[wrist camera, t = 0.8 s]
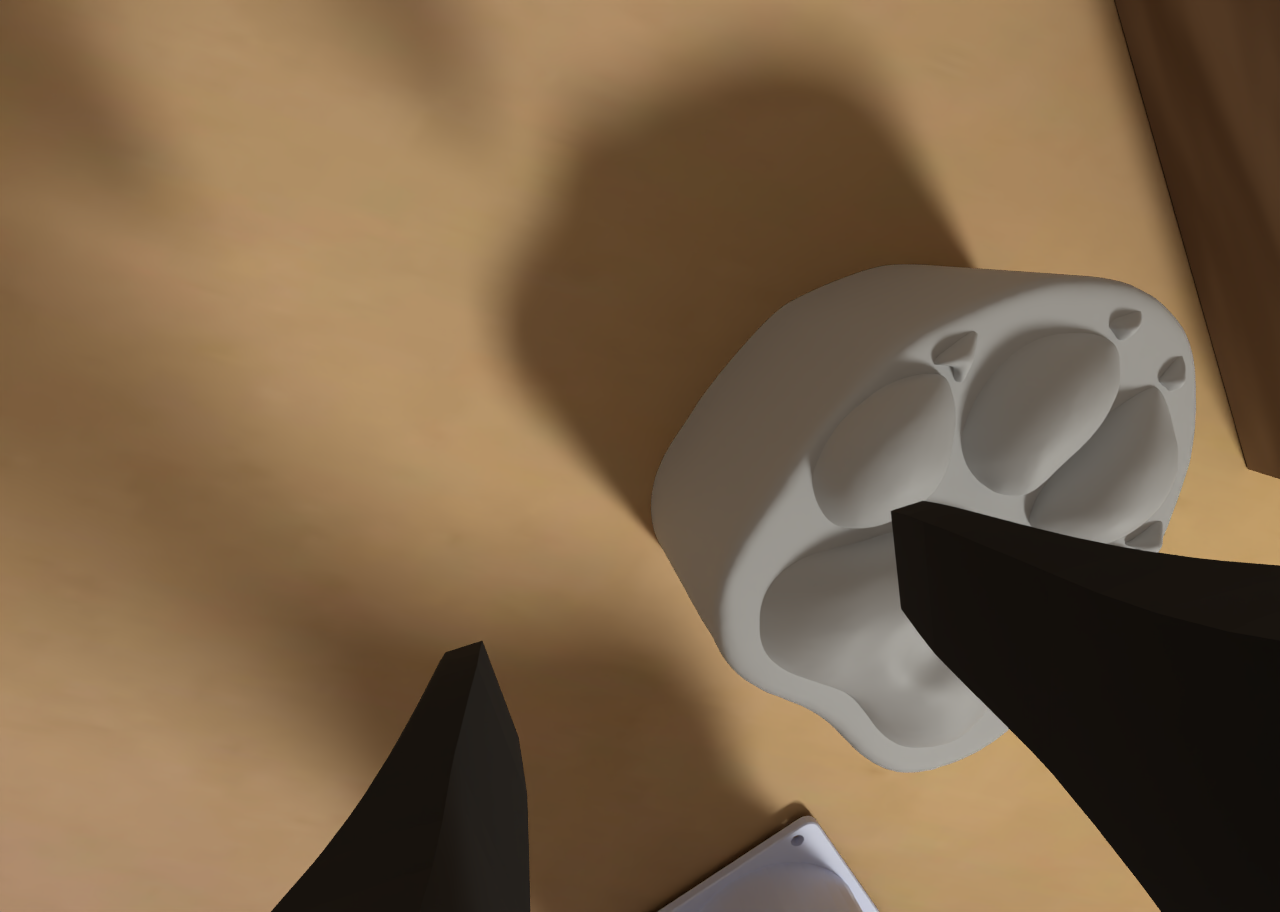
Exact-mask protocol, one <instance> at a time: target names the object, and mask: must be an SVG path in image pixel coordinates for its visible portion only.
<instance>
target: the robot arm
mask: <svg viewBox="0 0 1280 912" xmlns="http://www.w3.org/2000/svg"><path fill="white" fill-rule="evenodd" d="M891 519H892V529H893V538H894V548H895V557H896V567H897V576H898V586H899V595H900V605H901V610H902V611H903V612H904V614H905V615H906V617H907V618H908V619H909V621H910V622H911V623H912V625H913V626H914V628H915V629H916V630H917V632H918V633H919V634H920V636H921V637H922V638H923V639H924V641H925V642H926V643H927V645H928V646H929V647H930V648H931V650H932V651H933V652H934V654H935V655H936V656H937V657H938V658H939V659H940V660H941V661H942V662H943V663H944V664H945V665H946V666H947V667H948V668H949V669H950V670H951V671H952V672H953V673H954V674H955V675H956V676H957V677H958V678H959V679H960V680H961V681H962V682H963V683H964V684H965V685H966V686H967V687H968V688H969V689H970V690H971V691H972V692H973V693H974V694H975V695H976V696H977V697H978V698H979V699H980V700H981V701H982V702H983V703H984V704H985V705H986V706H987V707H988V708H989V709H990V710H991V711H992V712H993V713H994V714H995V715H996V716H997V717H998V718H999V719H1000V720H1001V721H1002V722H1003V723H1004V724H1005V725H1006V726H1007V727H1008V728H1009V729H1010V730H1011V731H1012V732H1013V733H1014V734H1015V735H1016V736H1017V737H1018V738H1019V739H1020V740H1021V741H1022V742H1023V743H1024V744H1025V745H1026V746H1027V747H1028V748H1029V749H1030V750H1031V751H1032V752H1033V753H1034V754H1035V755H1036V756H1037V758H1038V759H1039V760H1040V761H1041V762H1042V763H1043V764H1044V765H1045V766H1046V767H1047V768H1048V769H1049V771H1050V772H1051V773H1052V774H1053V775H1054V776H1055V777H1056V779H1057V780H1058V781H1059V782H1060V784H1061V785H1062V786H1063V787H1064V788H1065V790H1066V791H1067V792H1068V793H1069V794H1070V796H1071V797H1072V798H1073V799H1074V801H1075V802H1076V803H1077V804H1078V805H1079V807H1080V808H1081V809H1082V810H1083V811H1084V813H1085V814H1086V815H1087V816H1088V818H1089V819H1090V820H1091V821H1092V822H1093V824H1094V825H1095V826H1096V827H1097V829H1098V830H1099V831H1100V832H1101V834H1102V835H1103V836H1104V838H1105V839H1106V840H1107V841H1108V843H1109V844H1110V845H1111V847H1112V848H1113V849H1114V850H1115V852H1116V853H1117V854H1118V855H1119V857H1120V858H1121V859H1122V861H1123V862H1124V863H1125V864H1126V866H1127V867H1128V868H1129V870H1130V871H1131V872H1132V873H1133V875H1134V876H1135V877H1136V879H1137V880H1138V881H1139V882H1140V884H1141V885H1142V886H1143V888H1144V889H1145V890H1146V892H1147V893H1148V894H1149V896H1150V897H1151V898H1152V900H1153V901H1154V903H1155V904H1156V905H1157V907H1158V908H1159V909H1160V911H1161V912H1280V566H1278V565H1266V564H1253V563H1241V562H1229V561H1218V560H1209V559H1200V558H1192V557H1185V556H1178V555H1171V554H1164V553H1157V552H1150V551H1143V550H1137V549H1132V548H1126V547H1120V546H1115V545H1110V544H1105V543H1100V542H1096V541H1091V540H1086V539H1081V538H1076V537H1072V536H1068V535H1063V534H1059V533H1055V532H1050V531H1046V530H1042V529H1038V528H1034V527H1030V526H1026V525H1022V524H1018V523H1015V522H1011V521H1007V520H1003V519H999V518H995V517H992V516H988V515H984V514H980V513H976V512H973V511H969V510H965V509H961V508H957V507H953V506H948V505H944V504H939V503H934V502H928V501H920V502H917V503H914V504H911V505H907V506H904V507H901V508H898V509H895V510H892V511H891ZM797 835H798V836H797ZM794 836H797V837H795V838H793V837H794ZM271 912H530V881H529V840H528V807H527V791H526V784H525V777H524V770H523V763H522V757H521V750H520V744H519V738H518V735H517V732H516V729H515V727H514V724H513V721H512V719H511V716H510V713H509V711H508V708H507V705H506V703H505V700H504V697H503V695H502V692H501V689H500V687H499V684H498V681H497V679H496V676H495V673H494V671H493V668H492V665H491V663H490V660H489V657H488V655H487V652H486V649H485V647H484V644H483V641H480V642H477V643H474V644H471V645H467V646H464V647H461V648H458V649H455V650H452V651H449V652H445V654H444V656H443V657H442V659H441V661H440V663H439V664H438V666H437V668H436V670H435V672H434V674H433V676H432V678H431V680H430V682H429V684H428V686H427V688H426V689H425V691H424V693H423V695H422V697H421V699H420V701H419V703H418V705H417V707H416V709H415V710H414V712H413V714H412V716H411V718H410V720H409V721H408V723H407V725H406V727H405V729H404V730H403V732H402V734H401V736H400V737H399V739H398V741H397V743H396V745H395V746H394V748H393V750H392V752H391V753H390V755H389V757H388V758H387V760H386V761H385V763H384V765H383V766H382V768H381V769H380V771H379V773H378V774H377V776H376V777H375V779H374V780H373V782H372V784H371V785H370V787H369V788H368V790H367V792H366V793H365V795H364V796H363V798H362V799H361V801H360V802H359V803H358V805H357V806H356V808H355V809H354V810H353V812H352V813H351V815H350V816H349V817H348V819H347V820H346V822H345V823H344V824H343V826H342V827H341V828H340V829H339V831H338V832H337V833H336V835H335V836H334V837H333V839H332V840H331V841H330V843H329V844H328V845H327V847H326V848H325V849H324V850H323V852H322V853H321V854H320V855H319V857H318V858H317V859H316V860H315V862H314V863H313V864H312V865H311V866H310V867H309V869H308V870H307V871H306V872H305V873H304V874H303V876H302V877H301V878H300V879H299V880H298V881H297V882H296V884H295V885H294V886H293V887H292V888H291V889H290V890H289V892H288V893H287V894H286V895H285V896H284V897H283V898H282V900H281V901H280V902H279V903H278V904H277V905H276V907H275V908H274V909H273V910H272V911H271ZM657 912H879V910H878V909H877V907H876V906H875V904H874V903H873V902H872V900H871V899H870V897H869V896H868V894H867V893H866V891H865V890H864V889H863V887H862V886H861V884H860V883H859V881H858V880H857V878H856V877H855V876H854V874H853V873H852V871H851V870H850V868H849V867H848V865H847V864H846V863H845V861H844V860H843V858H842V857H841V855H840V854H839V852H838V851H837V850H836V848H835V847H834V845H833V844H832V842H831V841H830V839H829V838H828V837H827V835H826V834H825V832H824V831H823V829H822V828H821V826H820V825H819V824H818V822H817V821H816V819H815V818H813V817H811V816H803V817H801V818H799V819H797V820H796V821H794V822H793V823H791V824H790V825H788V826H787V827H785V828H784V829H782V830H781V831H779V832H778V833H776V834H775V835H773V836H771V837H770V838H768V839H767V840H765V841H764V842H762V843H761V844H759V845H758V846H756V847H755V848H753V849H752V850H750V851H749V852H747V853H746V854H744V855H743V856H741V857H740V858H738V859H736V860H735V861H733V862H732V863H730V864H729V865H727V866H726V867H724V868H723V869H721V870H720V871H718V872H717V873H715V874H714V875H712V876H711V877H709V878H708V879H706V880H705V881H703V882H702V883H700V884H698V885H697V886H695V887H694V888H692V889H691V890H689V891H688V892H686V893H685V894H683V895H682V896H680V897H679V898H677V899H676V900H674V901H673V902H671V903H670V904H668V905H667V906H665V907H663V908H662V909H660V910H659V911H657Z"/></svg>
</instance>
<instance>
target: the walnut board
mask: <svg viewBox="0 0 1280 912" xmlns="http://www.w3.org/2000/svg"><path fill="white" fill-rule="evenodd" d="M1115 2H1116V6H1117V9H1118V13H1119V16H1120V20H1121V23H1122V27H1123V30H1124V34H1125V37H1126V41H1127V44H1128V48H1129V51H1130V55H1131V59H1132V62H1133V66H1134V69H1135V73H1136V76H1137V80H1138V83H1139V87H1140V90H1141V94H1142V97H1143V101H1144V104H1145V108H1146V111H1147V115H1148V118H1149V122H1150V125H1151V129H1152V133H1153V136H1154V140H1155V143H1156V147H1157V150H1158V154H1159V157H1160V161H1161V164H1162V168H1163V171H1164V175H1165V178H1166V182H1167V185H1168V189H1169V192H1170V196H1171V199H1172V203H1173V206H1174V210H1175V214H1176V217H1177V221H1178V224H1179V228H1180V231H1181V235H1182V238H1183V242H1184V245H1185V249H1186V252H1187V256H1188V259H1189V263H1190V266H1191V270H1192V273H1193V277H1194V280H1195V284H1196V288H1197V291H1198V295H1199V298H1200V302H1201V305H1202V309H1203V312H1204V316H1205V319H1206V323H1207V326H1208V330H1209V333H1210V337H1211V340H1212V344H1213V347H1214V351H1215V354H1216V358H1217V362H1218V365H1219V369H1220V372H1221V376H1222V379H1223V383H1224V386H1225V390H1226V393H1227V397H1228V400H1229V404H1230V407H1231V411H1232V414H1233V418H1234V421H1235V425H1236V428H1237V432H1238V436H1239V439H1240V443H1241V446H1242V450H1243V453H1244V457H1245V460H1246V464H1247V467H1248V469H1249V470H1253V471H1256V472H1259V473H1262V474H1266V475H1269V476H1272V477H1275V478H1279V479H1280V0H1115Z"/></svg>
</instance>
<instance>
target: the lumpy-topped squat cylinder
mask: <svg viewBox="0 0 1280 912" xmlns="http://www.w3.org/2000/svg"><path fill="white" fill-rule="evenodd" d="M1195 415H1196V386H1195V368H1194V360H1193V355H1192V351H1191V347H1190V344H1189V341H1188V338H1187V336H1186V334H1185V332H1184V330H1183V328H1182V326H1181V325H1180V324H1179V322H1178V321H1177V320H1176V318H1175V317H1174V316H1173V315H1172V314H1171V313H1170V312H1169V311H1168V309H1167V308H1166V307H1165V306H1164V305H1163V304H1161V303H1160V302H1159V301H1158V300H1157V299H1155V298H1154V297H1153V296H1151V295H1149V294H1147V293H1145V292H1144V291H1142V290H1140V289H1138V288H1136V287H1134V286H1132V285H1129V284H1126V283H1123V282H1120V281H1116V280H1111V279H1105V278H1099V277H1090V276H1078V275H1064V274H1051V273H1036V272H1021V271H1007V270H993V269H978V268H964V267H949V266H935V265H920V264H897V265H886V266H880V267H875V268H871V269H868V270H864V271H861V272H858V273H855V274H852V275H850V276H847V277H844V278H842V279H839V280H836V281H834V282H832V283H829V284H827V285H824V286H822V287H820V288H817V289H815V290H813V291H811V292H809V293H806V294H804V295H802V296H800V297H798V298H796V299H794V300H792V301H791V302H789V303H787V304H786V305H784V306H783V307H781V308H780V309H779V310H778V311H777V312H775V313H774V314H773V315H772V316H771V317H770V318H769V319H768V320H767V321H766V322H765V323H764V324H763V325H762V326H761V327H760V328H759V329H758V330H757V331H756V332H755V333H754V334H753V335H752V336H751V338H750V339H749V340H748V341H747V342H746V343H745V344H744V345H743V346H742V348H741V349H740V350H739V351H738V352H737V353H736V354H735V356H734V357H733V358H732V359H731V360H730V362H729V363H728V364H727V365H726V366H725V368H724V369H723V370H722V371H721V373H720V374H719V375H718V376H717V378H716V379H715V380H714V381H713V383H712V384H711V385H710V387H709V388H708V389H707V391H706V392H705V393H704V395H703V396H702V397H701V399H700V400H699V402H698V403H697V405H696V406H695V408H694V409H693V411H692V413H691V414H690V416H689V417H688V419H687V420H686V422H685V423H684V425H683V426H682V428H681V429H680V431H679V432H678V434H677V435H676V437H675V438H674V440H673V441H672V443H671V445H670V446H669V448H668V450H667V451H666V453H665V455H664V457H663V459H662V461H661V464H660V466H659V468H658V471H657V474H656V477H655V481H654V485H653V490H652V497H651V517H652V524H653V528H654V532H655V535H656V537H657V539H658V541H659V543H660V545H661V547H662V549H663V550H664V552H665V554H666V556H667V558H668V559H669V561H670V563H671V565H672V567H673V568H674V570H675V572H676V574H677V576H678V578H679V579H680V581H681V583H682V585H683V587H684V588H685V590H686V592H687V594H688V596H689V598H690V599H691V601H692V603H693V605H694V607H695V608H696V610H697V612H698V614H699V616H700V617H701V619H702V621H703V622H704V624H705V625H706V627H707V629H708V630H709V632H710V633H711V635H712V637H713V638H714V640H715V643H716V645H717V647H718V648H719V650H720V652H721V654H722V656H723V657H724V659H725V660H726V661H727V663H728V664H729V665H730V666H731V667H732V668H733V669H734V670H735V671H736V672H737V673H738V674H739V675H740V676H741V677H742V678H744V679H745V680H746V681H748V682H750V683H751V684H753V685H755V686H756V687H758V688H760V689H762V690H764V691H766V692H768V693H770V694H773V695H776V696H779V697H781V698H783V699H786V700H788V701H791V702H794V703H796V704H799V705H801V706H803V707H805V708H807V709H809V710H811V711H813V712H814V713H816V714H818V715H819V716H821V717H822V718H823V719H825V720H826V721H827V722H828V723H830V724H831V725H832V726H833V727H834V728H835V729H836V730H837V731H838V732H839V733H840V734H841V735H842V736H843V737H844V738H845V739H846V740H847V741H848V742H849V743H850V744H851V745H852V747H853V748H855V749H856V750H857V751H858V752H859V753H860V754H862V755H863V756H864V757H866V758H867V759H868V760H870V761H872V762H873V763H875V764H877V765H879V766H881V767H883V768H886V769H889V770H893V771H897V772H921V771H927V770H933V769H936V768H938V767H941V766H944V765H947V764H950V763H953V762H956V761H959V760H961V759H963V758H965V757H967V756H969V755H972V754H974V753H975V752H977V751H979V750H981V749H982V748H984V747H986V746H987V745H989V744H990V743H992V742H993V741H995V740H996V739H997V738H999V737H1000V736H1001V735H1003V734H1004V733H1005V732H1006V731H1008V730H1009V728H1008V727H1007V726H1006V725H1005V724H1004V723H1003V722H1002V721H1001V720H1000V719H999V718H998V717H997V716H996V715H995V714H994V713H993V712H992V711H991V710H990V709H989V708H988V707H987V706H986V705H985V704H984V703H983V702H982V701H981V700H980V699H979V698H978V697H977V696H976V695H975V694H974V693H973V692H972V691H971V690H970V689H969V688H968V687H967V686H966V685H965V684H964V683H963V682H962V681H961V680H960V679H959V678H958V677H957V676H956V675H955V674H954V673H953V672H952V671H951V670H950V669H949V668H948V667H947V666H946V665H945V664H944V663H943V662H942V661H941V660H940V659H939V658H938V657H937V656H936V655H935V654H934V652H933V651H932V650H931V648H930V647H929V646H928V645H927V643H926V642H925V641H924V639H923V638H922V637H921V636H920V634H919V633H918V632H917V630H916V629H915V628H914V626H913V625H912V623H911V622H910V621H909V619H908V618H907V617H906V615H905V614H904V612H903V611H902V610H901V605H900V595H899V586H898V576H897V567H896V557H895V548H894V538H893V529H892V519H891V511H892V510H895V509H898V508H901V507H904V506H907V505H911V504H914V503H917V502H920V501H928V502H934V503H939V504H944V505H948V506H953V507H957V508H961V509H965V510H969V511H973V512H976V513H980V514H984V515H988V516H992V517H995V518H999V519H1003V520H1007V521H1011V522H1015V523H1018V524H1022V525H1026V526H1030V527H1034V528H1038V529H1042V530H1046V531H1050V532H1055V533H1059V534H1063V535H1068V536H1072V537H1076V538H1081V539H1086V540H1091V541H1096V542H1100V543H1105V544H1110V545H1115V546H1120V547H1126V548H1132V549H1137V550H1143V551H1150V552H1157V553H1158V552H1159V550H1160V549H1161V547H1162V542H1163V536H1164V534H1165V531H1166V529H1167V526H1168V524H1169V521H1170V519H1171V516H1172V513H1173V510H1174V508H1175V505H1176V502H1177V499H1178V497H1179V494H1180V491H1181V488H1182V485H1183V482H1184V479H1185V476H1186V472H1187V469H1188V466H1189V462H1190V458H1191V452H1192V445H1193V438H1194V430H1195Z"/></svg>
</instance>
